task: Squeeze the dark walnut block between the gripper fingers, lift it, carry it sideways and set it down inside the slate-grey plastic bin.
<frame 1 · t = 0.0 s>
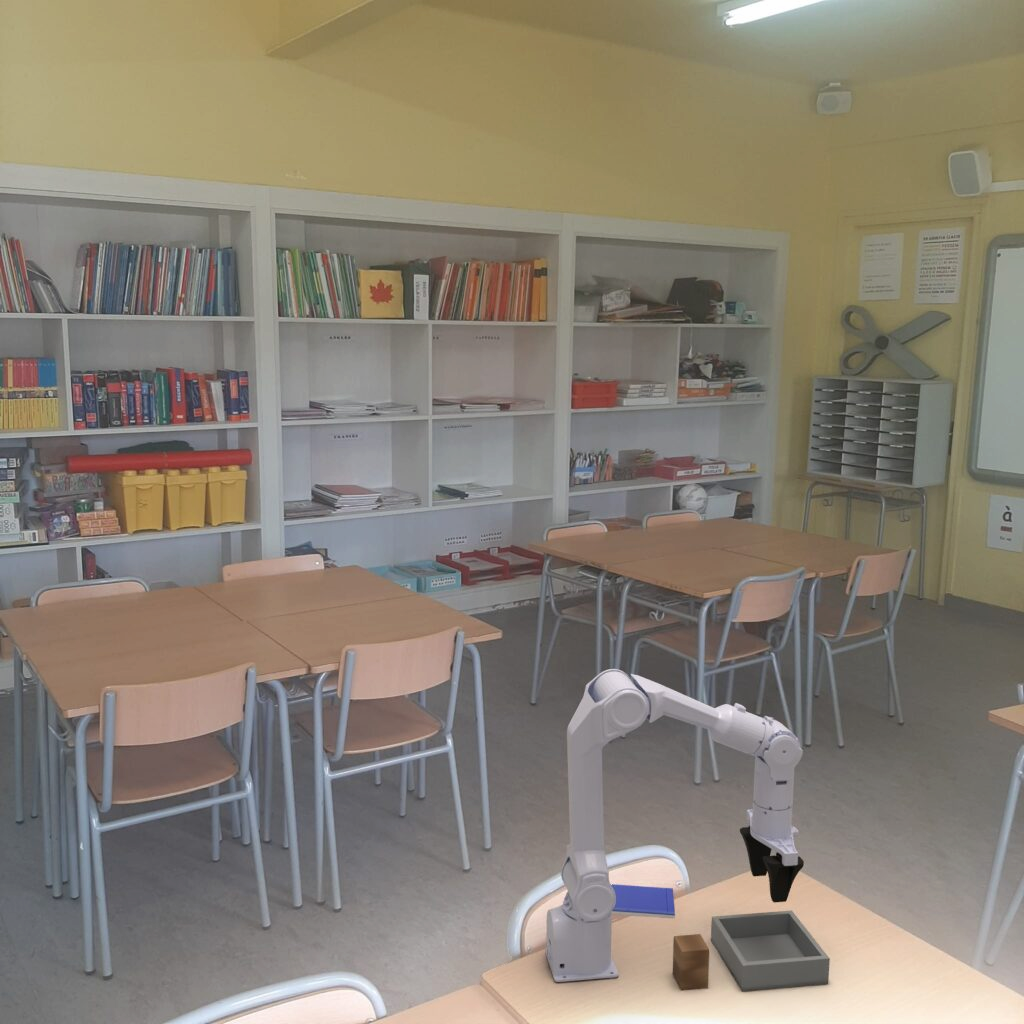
hand: (768, 887, 153), 10 cm above the table, tool pointing down, fingers open, 7 cm apart
walnut block: (690, 981, 147), on the table
grey bin: (767, 961, 151), on the table
hard drive: (635, 906, 168), on the table
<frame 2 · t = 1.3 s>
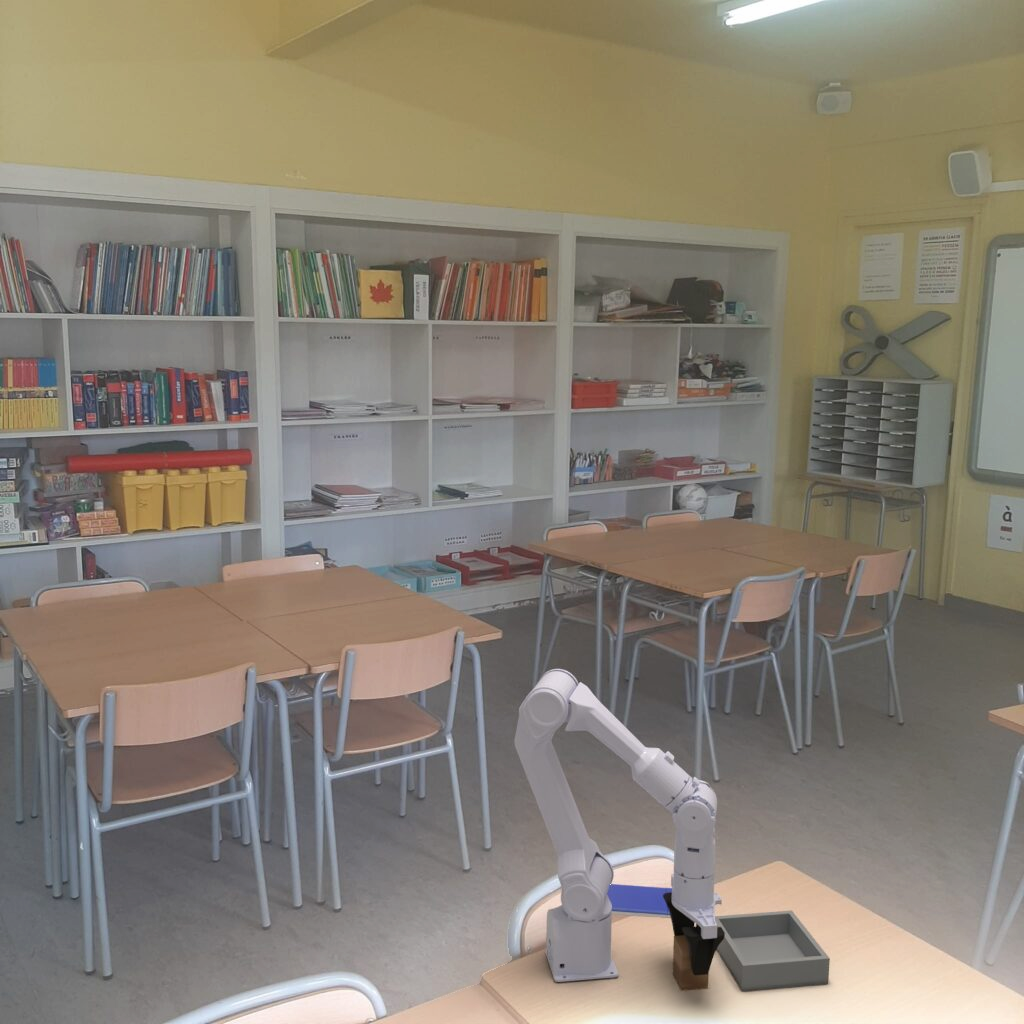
hand: (691, 957, 146), 4 cm above the table, tool pointing down, fingers open, 7 cm apart
nothing on the table moved.
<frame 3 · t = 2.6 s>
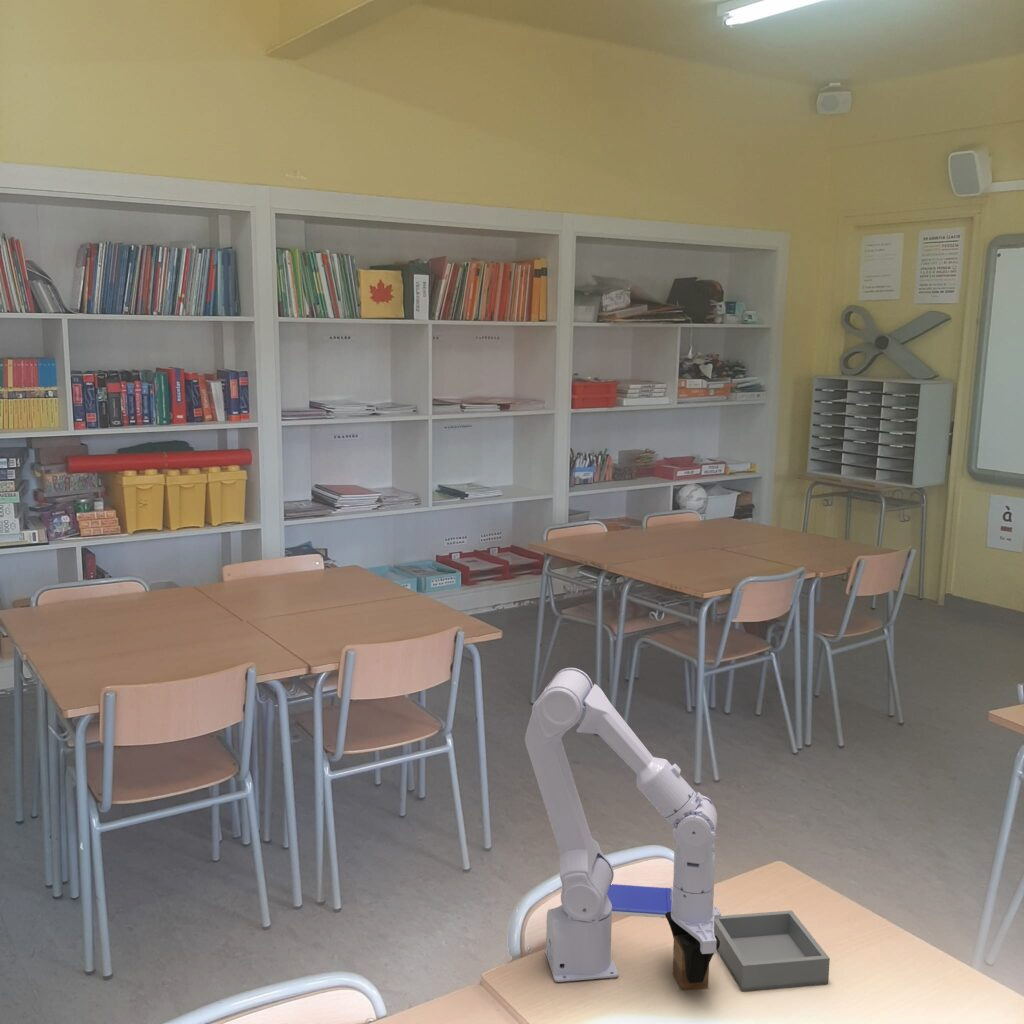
hand: (690, 971, 146), 1 cm above the table, tool pointing down, fingers closed on walnut block, 4 cm apart
walnut block: (690, 980, 147), on the table, touching gripper
everything else where it was.
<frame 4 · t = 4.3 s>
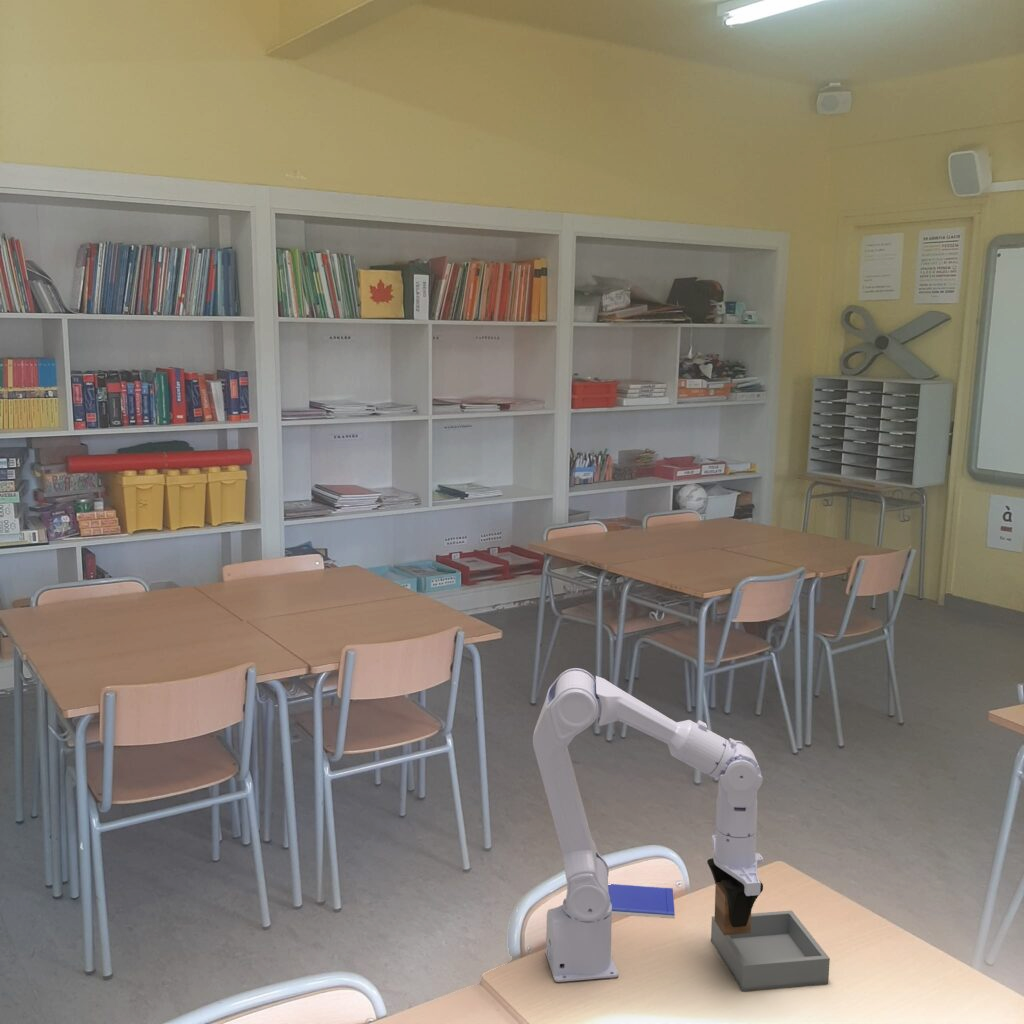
hand: (733, 916, 148), 9 cm above the table, tool pointing down, fingers closed on walnut block, 4 cm apart
walnut block: (732, 926, 148), point 7 cm above the table, touching gripper
everything else where it was.
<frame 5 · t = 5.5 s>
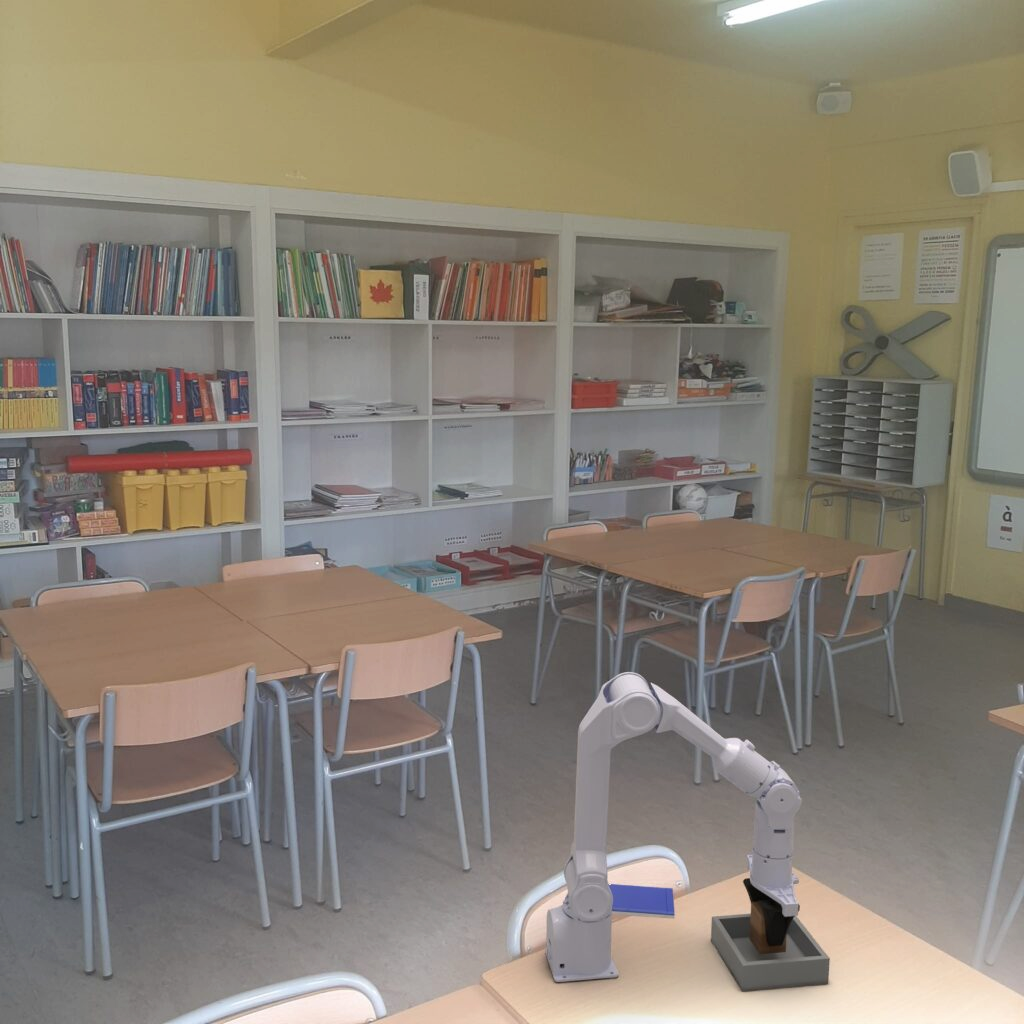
hand: (768, 936, 151), 4 cm above the table, tool pointing down, fingers closed on walnut block, 4 cm apart
walnut block: (767, 945, 151), point 3 cm above the table, touching gripper
everything else where it was.
when the fingers open (4 cm above the table, at t = 6.4 s): walnut block drops 1 cm, resting on grey bin.
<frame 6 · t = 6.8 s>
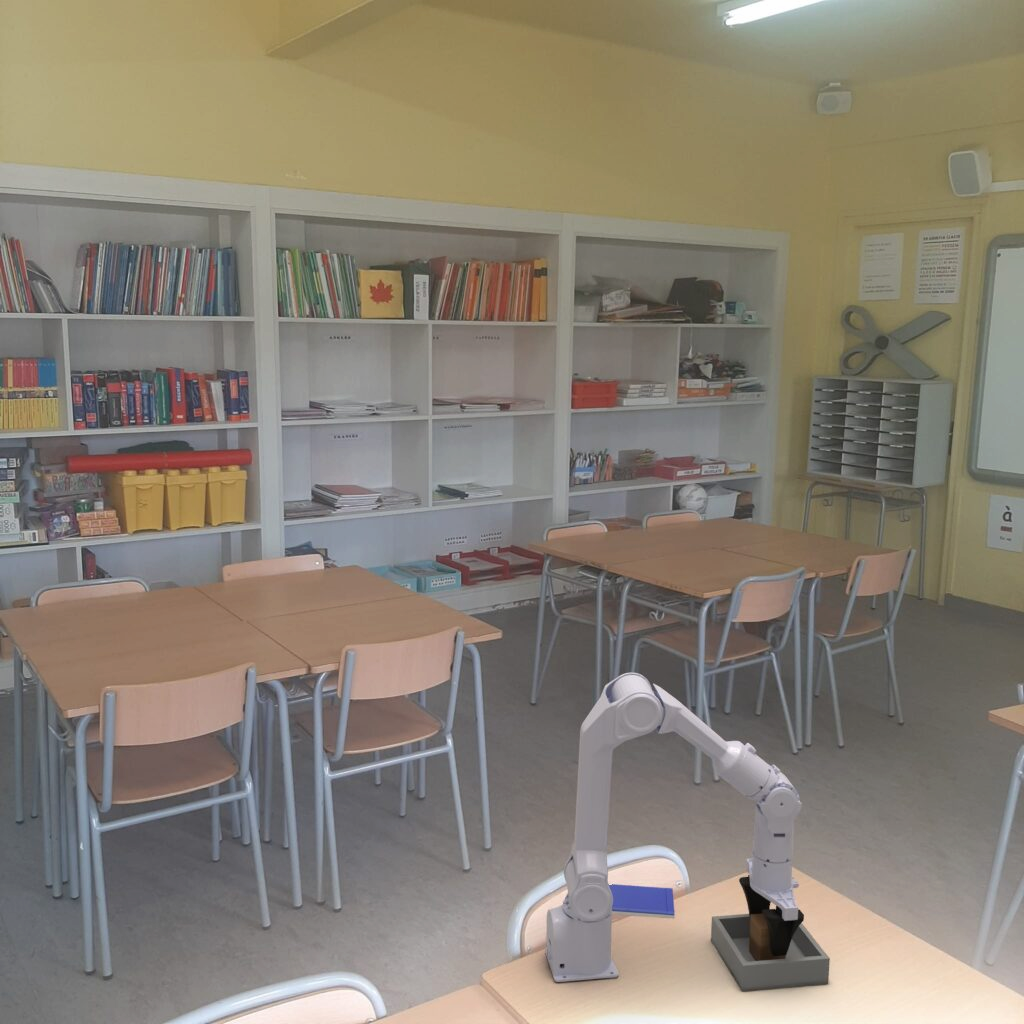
hand: (768, 939, 151), 4 cm above the table, tool pointing down, fingers open, 7 cm apart
walnut block: (766, 958, 151), point 1 cm above the table, touching grey bin
everything else where it was.
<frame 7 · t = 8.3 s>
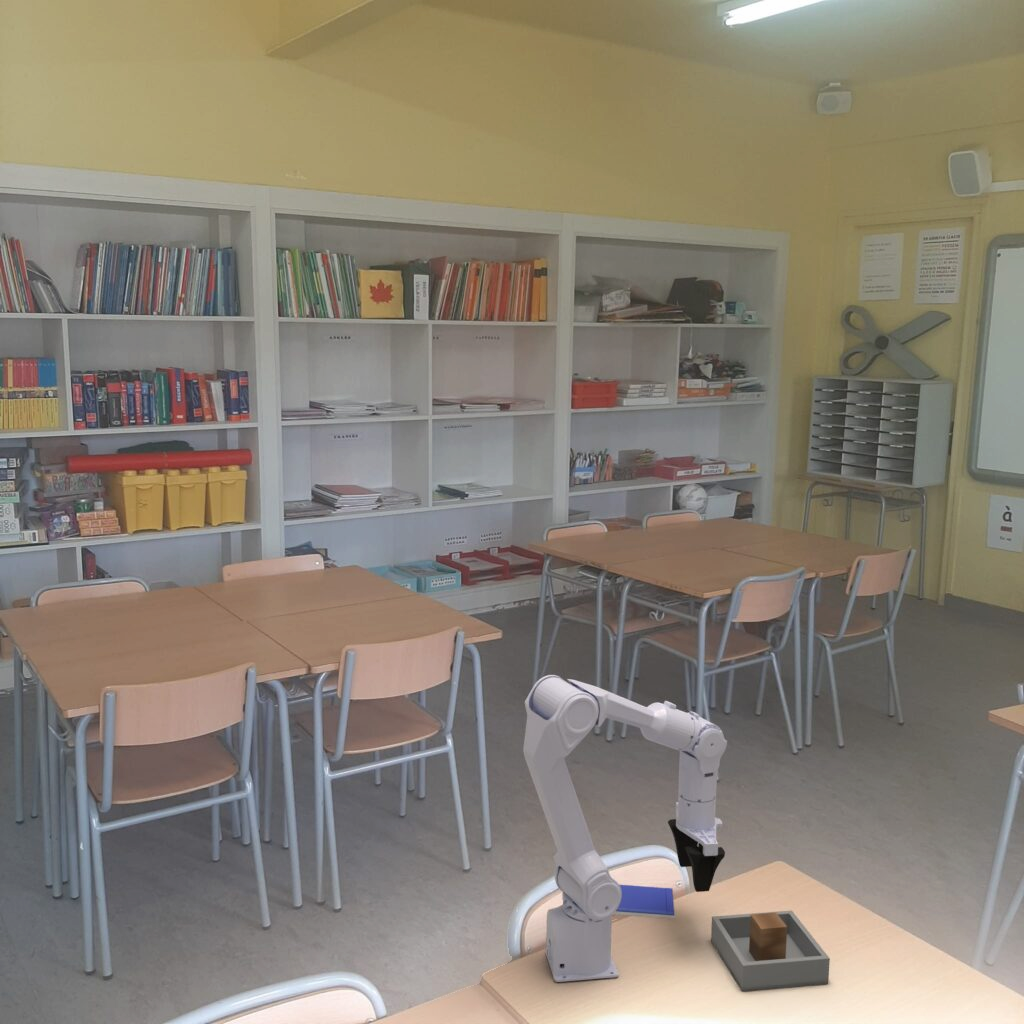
hand: (694, 877, 157), 9 cm above the table, tool pointing down, fingers open, 7 cm apart
nothing on the table moved.
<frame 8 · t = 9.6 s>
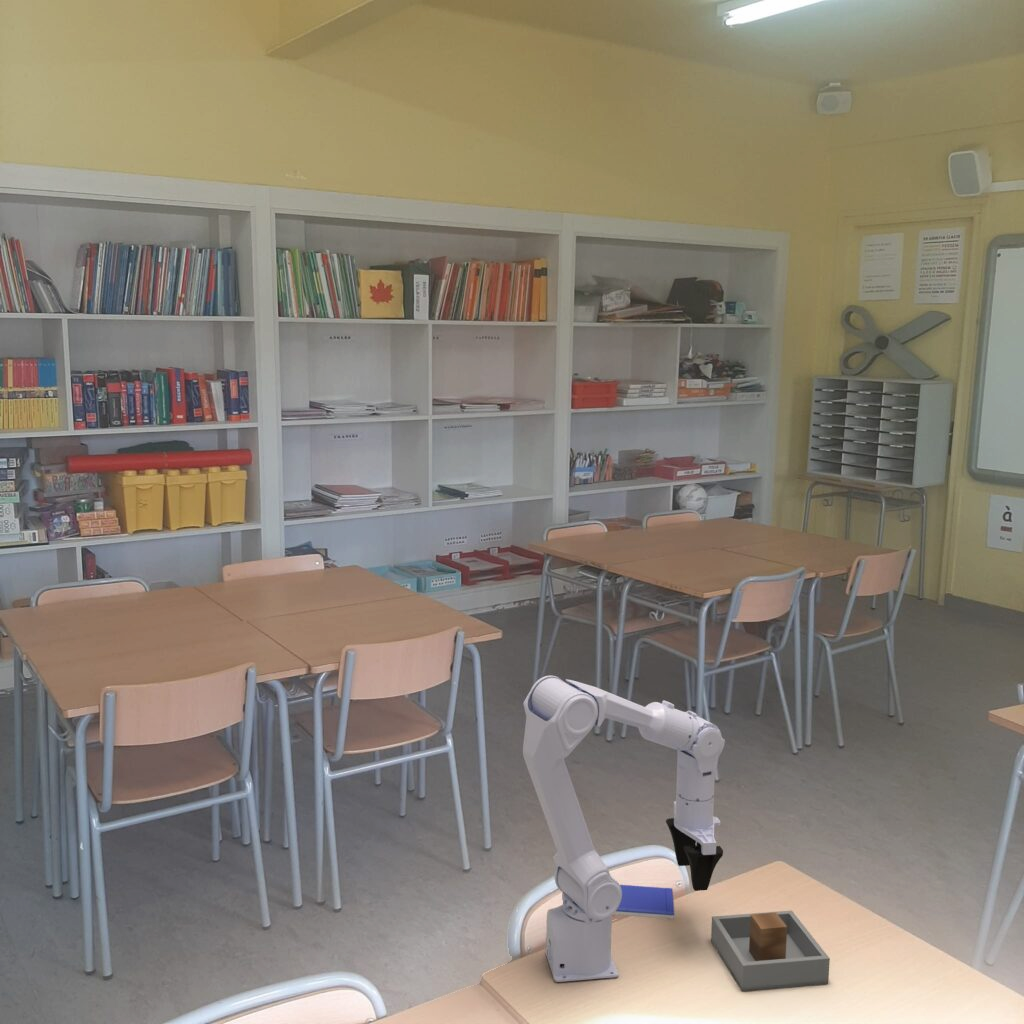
hand: (692, 876, 158), 9 cm above the table, tool pointing down, fingers open, 7 cm apart
nothing on the table moved.
at the end: walnut block inside the target area on the grey bin (0.1 cm from its centre), point 0.6 cm above the grey bin's base; the gripper is holding nothing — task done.
